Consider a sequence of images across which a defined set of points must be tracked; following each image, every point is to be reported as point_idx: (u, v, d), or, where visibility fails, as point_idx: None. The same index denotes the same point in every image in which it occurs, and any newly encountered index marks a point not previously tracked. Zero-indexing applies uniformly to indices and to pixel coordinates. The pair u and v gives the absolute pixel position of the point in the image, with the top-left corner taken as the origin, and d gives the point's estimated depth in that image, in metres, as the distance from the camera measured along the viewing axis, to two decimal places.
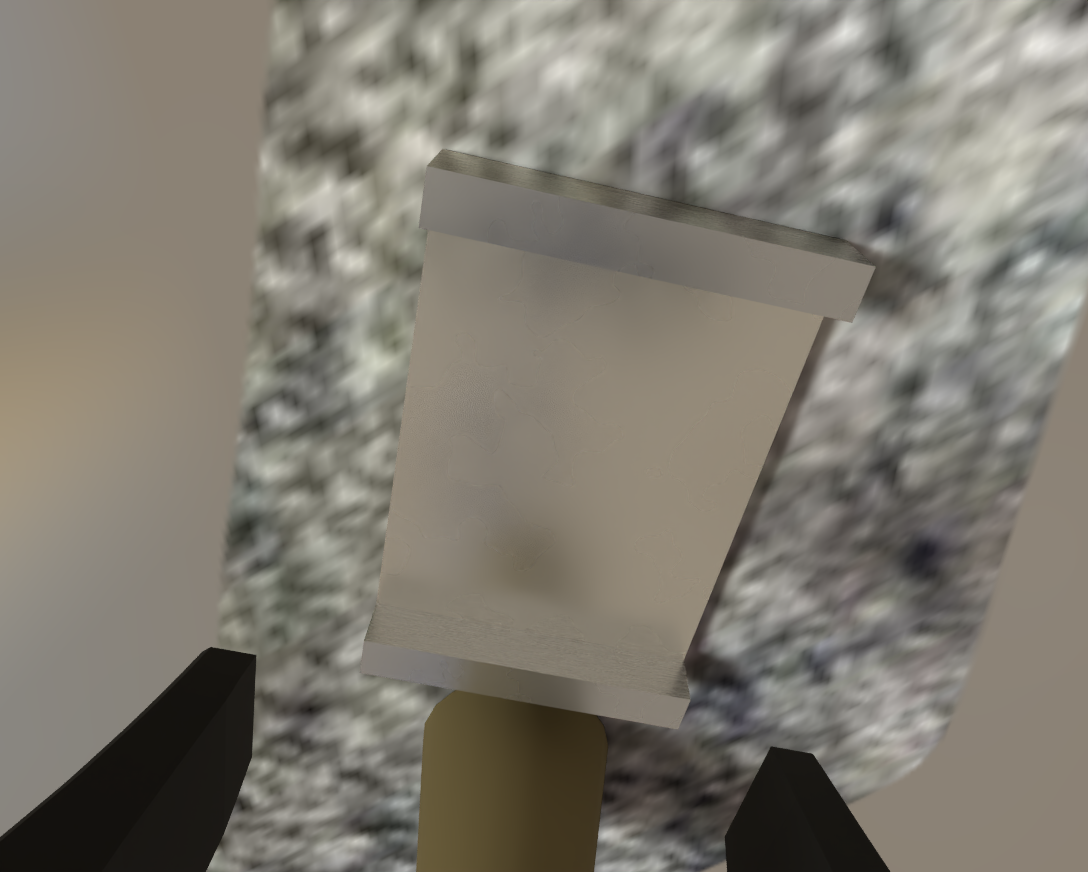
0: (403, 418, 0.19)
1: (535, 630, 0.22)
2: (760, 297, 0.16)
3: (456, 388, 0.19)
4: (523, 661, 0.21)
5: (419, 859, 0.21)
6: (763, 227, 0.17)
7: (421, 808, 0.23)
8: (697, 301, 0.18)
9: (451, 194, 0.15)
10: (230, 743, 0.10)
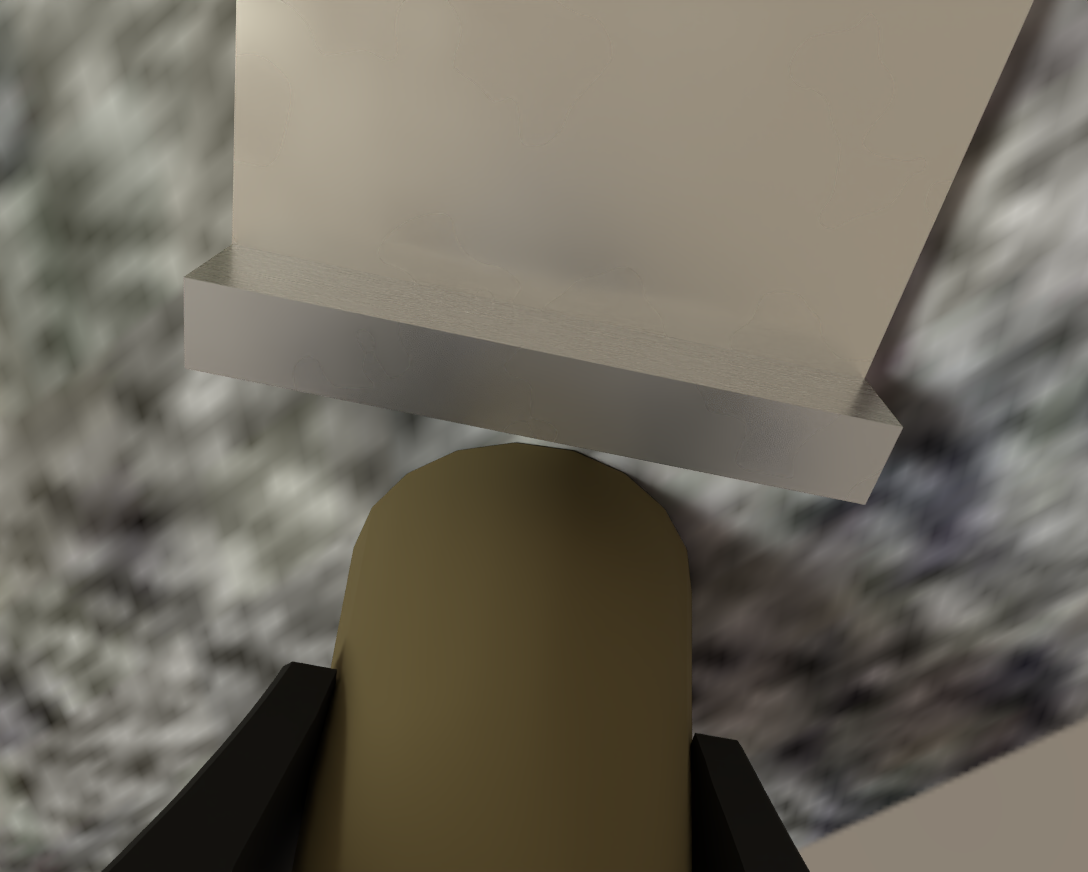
0: None
1: (564, 309, 0.11)
2: None
3: None
4: (540, 342, 0.10)
5: (312, 774, 0.10)
6: None
7: None
8: None
9: None
10: None
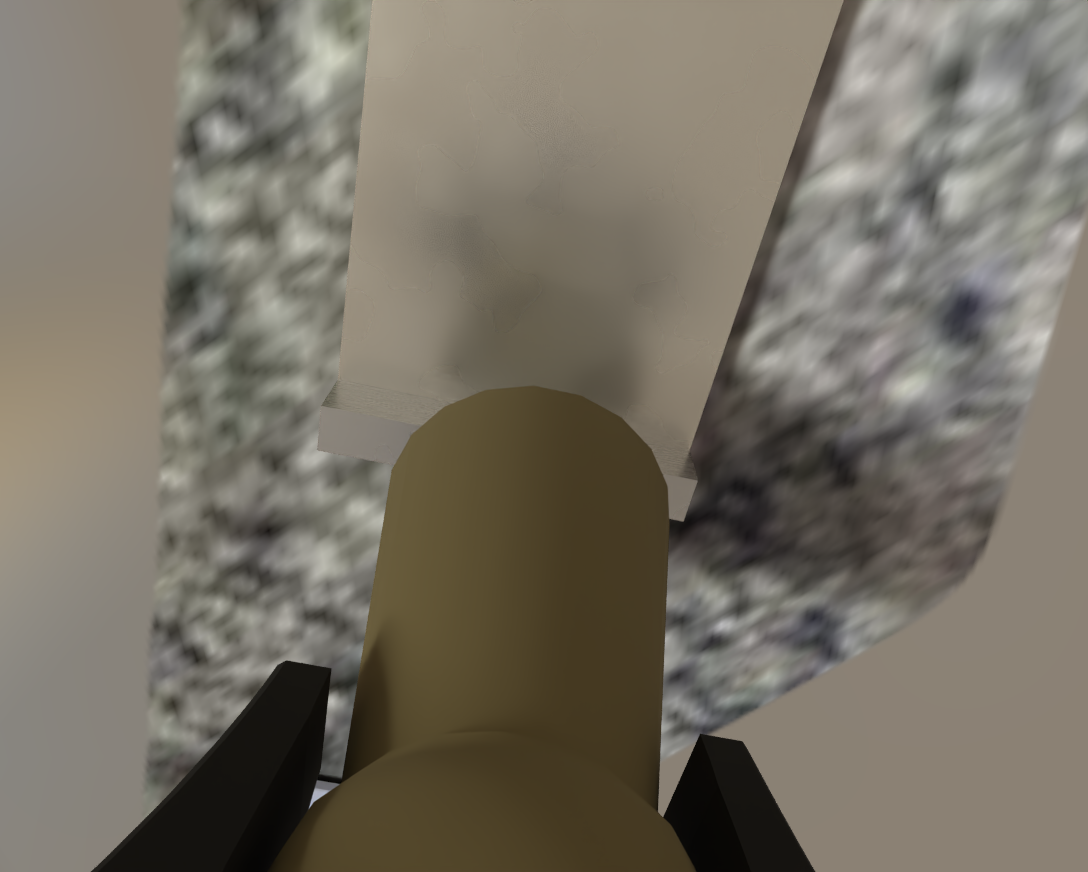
0: (362, 123, 0.17)
1: None
2: None
3: (424, 79, 0.16)
4: None
5: (371, 616, 0.12)
6: None
7: (379, 557, 0.14)
8: None
9: None
10: (309, 756, 0.10)
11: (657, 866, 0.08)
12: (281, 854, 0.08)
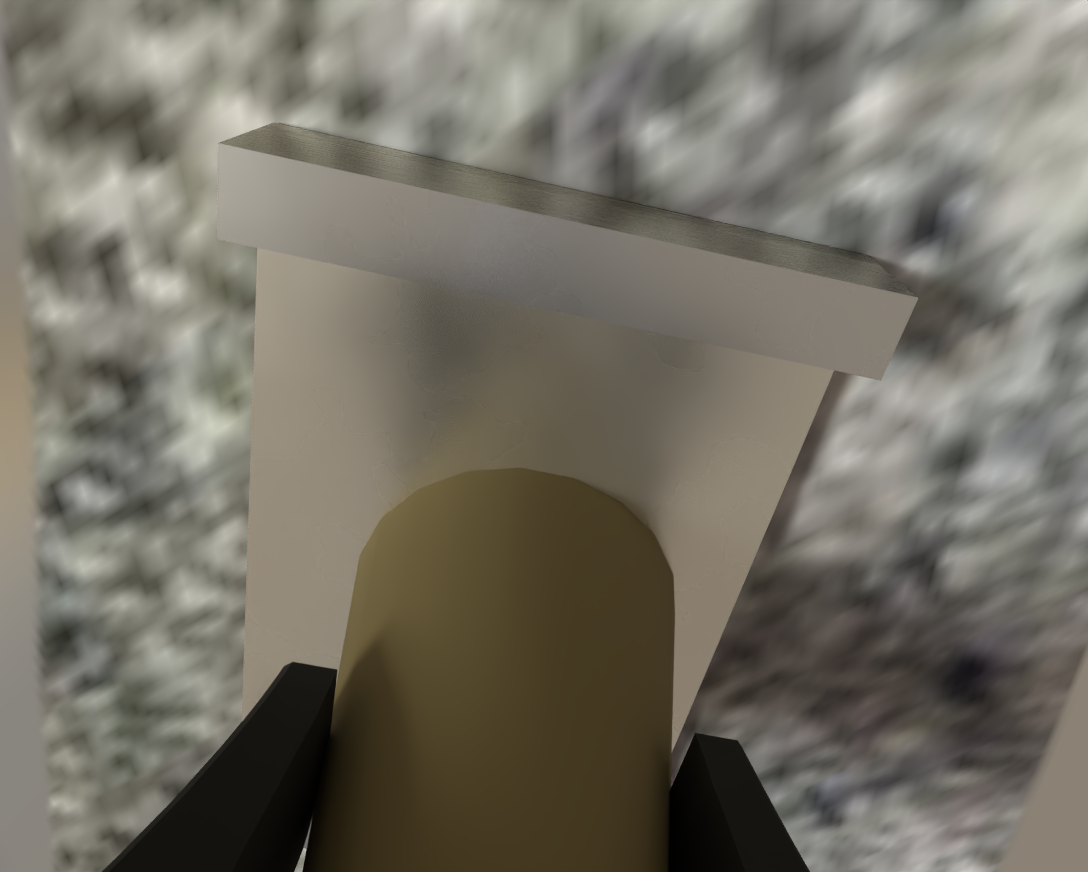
0: (250, 502, 0.14)
1: None
2: (742, 343, 0.11)
3: (320, 462, 0.13)
4: None
5: (323, 771, 0.10)
6: (747, 237, 0.11)
7: (338, 682, 0.12)
8: (654, 343, 0.12)
9: (261, 187, 0.10)
10: (315, 757, 0.10)
11: None
12: None
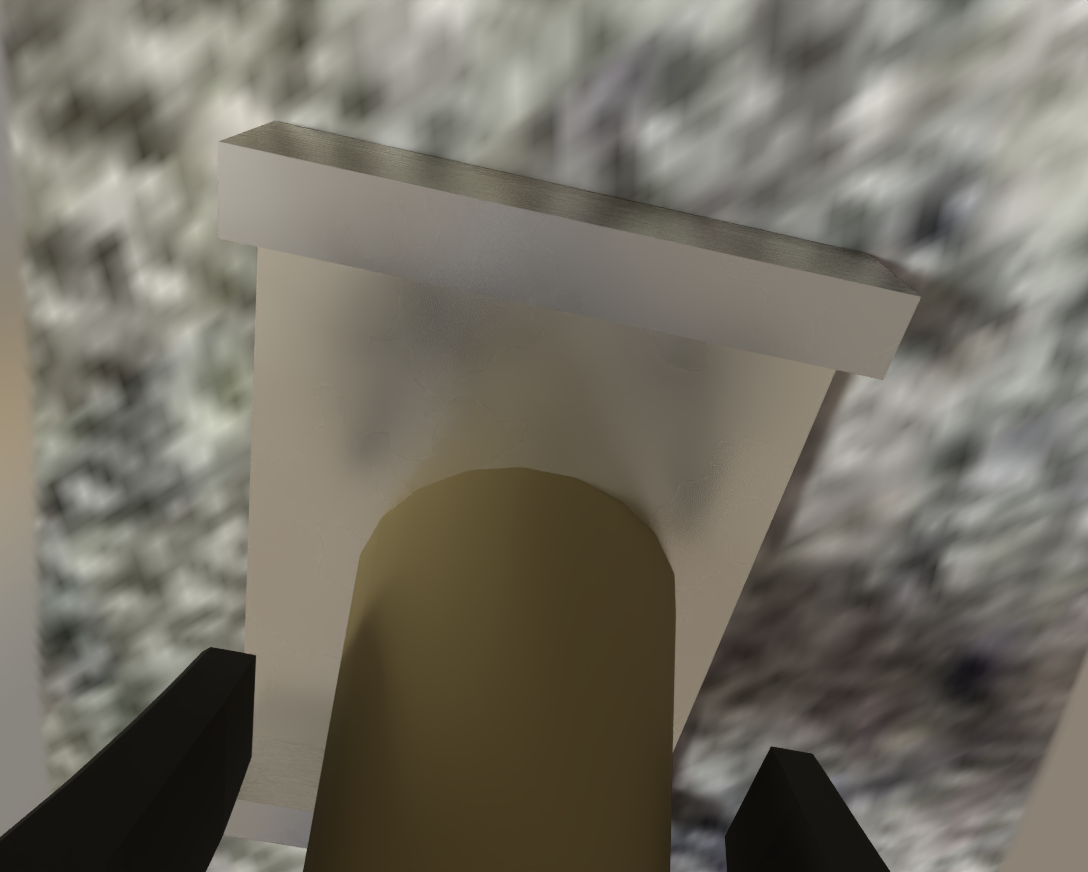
0: (251, 502, 0.14)
1: None
2: (744, 343, 0.10)
3: (321, 461, 0.13)
4: None
5: (323, 771, 0.10)
6: (749, 236, 0.11)
7: (338, 682, 0.12)
8: (655, 343, 0.12)
9: (262, 186, 0.10)
10: (230, 743, 0.10)
11: None
12: None
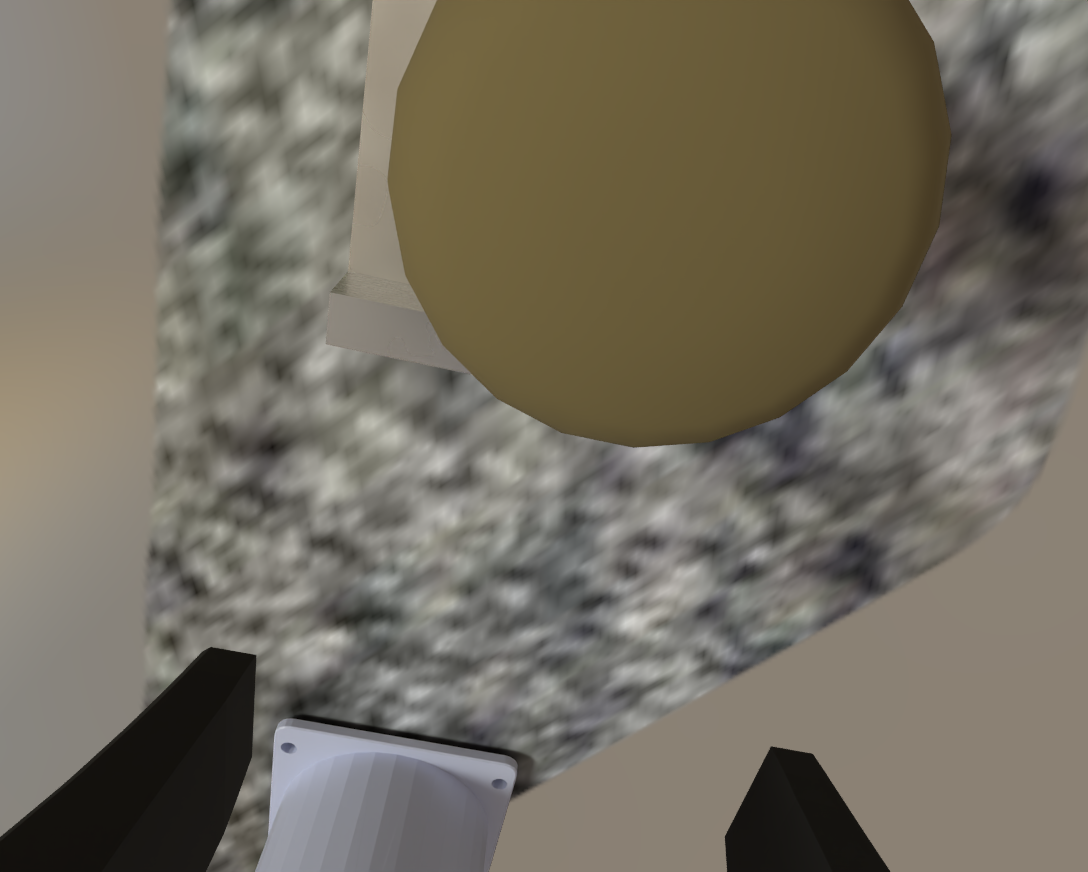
0: None
1: None
2: None
3: None
4: None
5: None
6: None
7: None
8: None
9: None
10: (230, 743, 0.10)
11: None
12: None
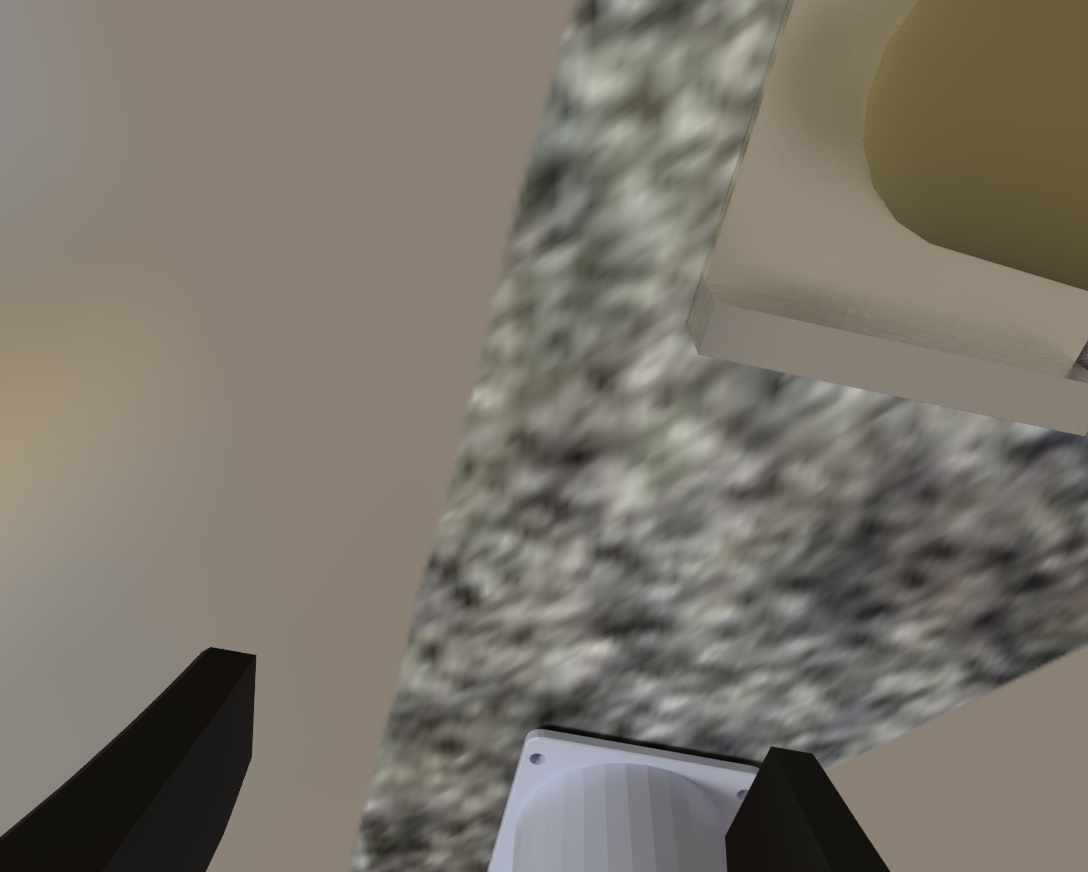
0: None
1: (897, 320, 0.18)
2: None
3: None
4: (905, 339, 0.17)
5: (1037, 63, 0.11)
6: None
7: (975, 56, 0.13)
8: None
9: None
10: (230, 743, 0.10)
11: None
12: None
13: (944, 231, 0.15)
